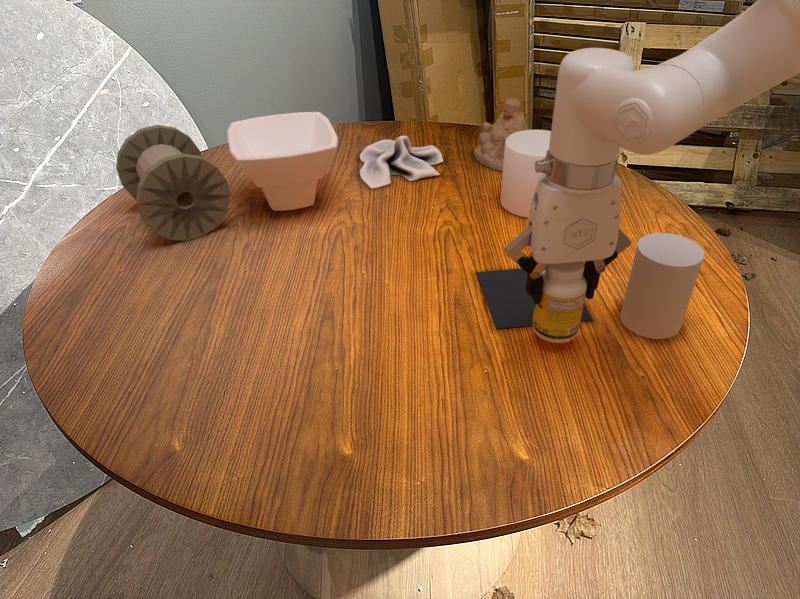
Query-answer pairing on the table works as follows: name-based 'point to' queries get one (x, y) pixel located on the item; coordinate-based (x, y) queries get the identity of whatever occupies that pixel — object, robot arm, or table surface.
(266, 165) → the bowl
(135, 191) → the spool
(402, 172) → the cloth
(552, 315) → the pill bottle
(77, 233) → the table surface
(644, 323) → the grey upright cylinder
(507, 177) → the white cylinder
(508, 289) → the mat
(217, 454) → the table surface
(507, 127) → the statue
